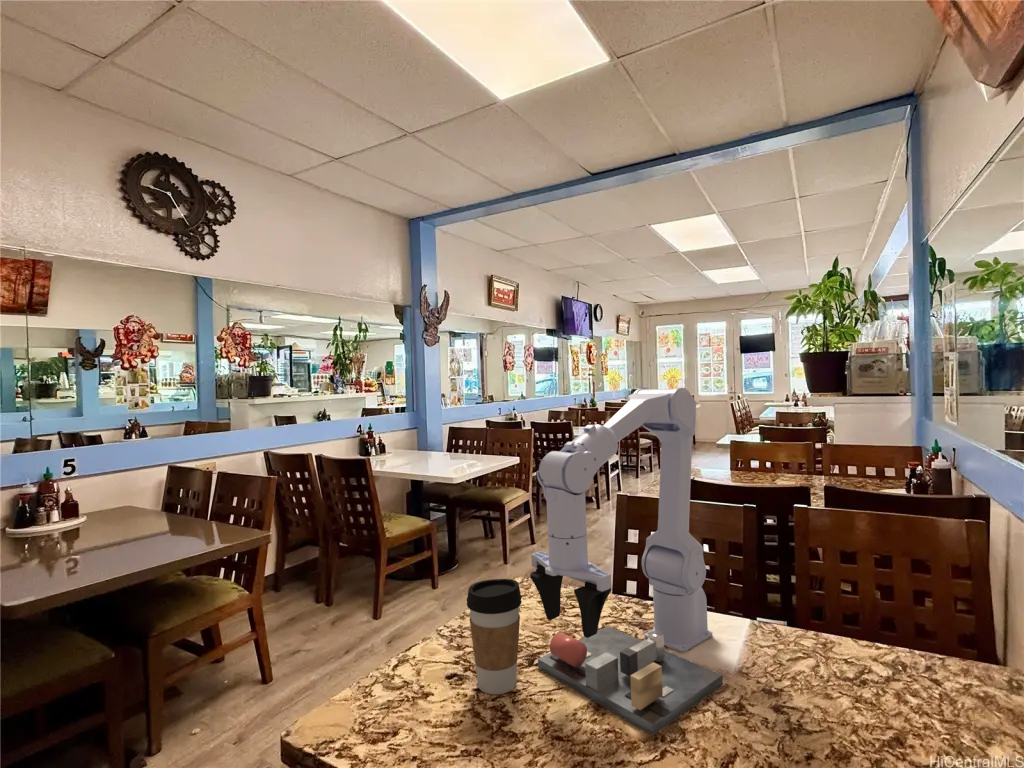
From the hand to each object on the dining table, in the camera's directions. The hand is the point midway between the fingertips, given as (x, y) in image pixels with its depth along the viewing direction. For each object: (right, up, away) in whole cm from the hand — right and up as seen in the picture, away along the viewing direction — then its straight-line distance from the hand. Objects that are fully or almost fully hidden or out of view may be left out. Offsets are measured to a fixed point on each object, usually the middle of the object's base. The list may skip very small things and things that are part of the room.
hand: (571, 626), depth 77 cm
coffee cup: (-11, -10, +3) cm, 15 cm away
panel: (+9, -10, +4) cm, 14 cm away
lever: (+12, -7, +3) cm, 14 cm away
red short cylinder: (0, -8, +5) cm, 9 cm away
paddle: (+10, -7, -6) cm, 13 cm away
